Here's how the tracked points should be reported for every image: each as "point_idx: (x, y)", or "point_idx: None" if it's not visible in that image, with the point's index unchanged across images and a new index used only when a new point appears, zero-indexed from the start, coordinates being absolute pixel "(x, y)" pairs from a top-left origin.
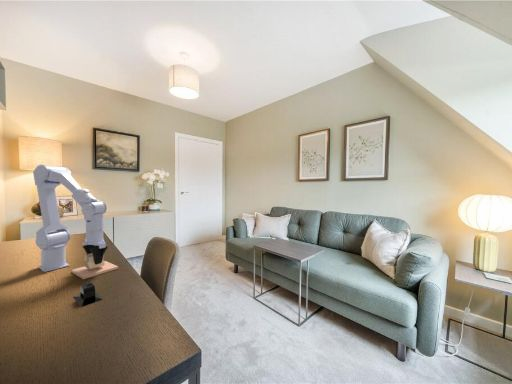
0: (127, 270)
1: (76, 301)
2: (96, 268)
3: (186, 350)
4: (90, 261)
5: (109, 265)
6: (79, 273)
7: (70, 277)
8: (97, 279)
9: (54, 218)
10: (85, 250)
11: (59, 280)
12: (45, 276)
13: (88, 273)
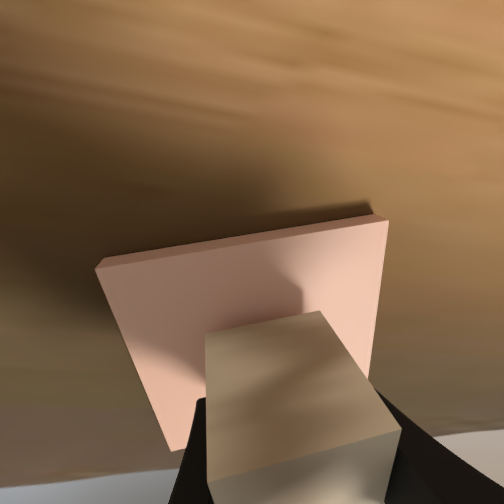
0: (89, 466)
1: None
2: None
3: None
4: (208, 411)
5: None
6: (228, 255)
7: (250, 187)
8: (19, 332)
9: None
10: (494, 500)
11: (247, 97)
12: (485, 19)
13: (162, 307)
